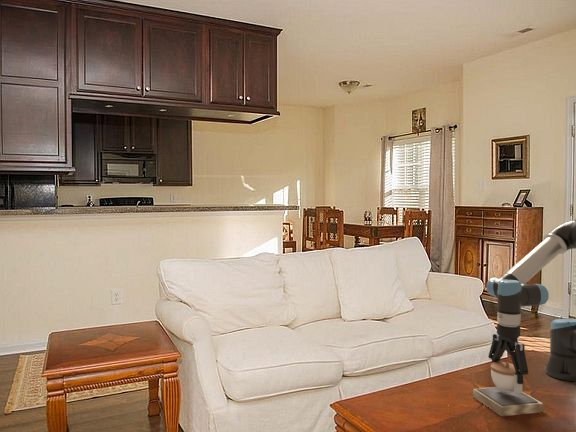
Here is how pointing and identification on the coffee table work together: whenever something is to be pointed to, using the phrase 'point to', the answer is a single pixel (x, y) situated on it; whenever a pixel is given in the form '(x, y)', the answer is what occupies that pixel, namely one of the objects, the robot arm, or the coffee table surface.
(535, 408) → the stand
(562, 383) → the coffee table surface
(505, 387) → the lidded jar
